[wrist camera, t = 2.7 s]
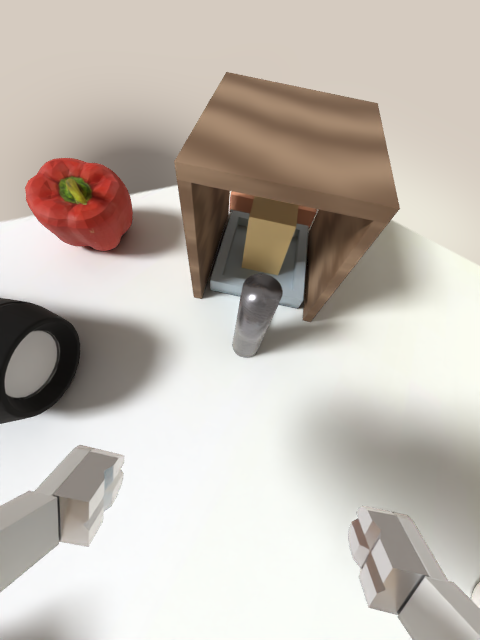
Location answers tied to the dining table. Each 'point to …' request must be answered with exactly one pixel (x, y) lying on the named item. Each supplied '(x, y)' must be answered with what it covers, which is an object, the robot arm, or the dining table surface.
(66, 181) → the vegetable
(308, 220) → the box
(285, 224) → the ochre block
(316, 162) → the tunnel
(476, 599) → the drinking glass
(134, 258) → the dining table surface
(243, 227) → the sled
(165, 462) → the dining table surface
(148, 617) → the dining table surface
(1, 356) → the portable speaker
